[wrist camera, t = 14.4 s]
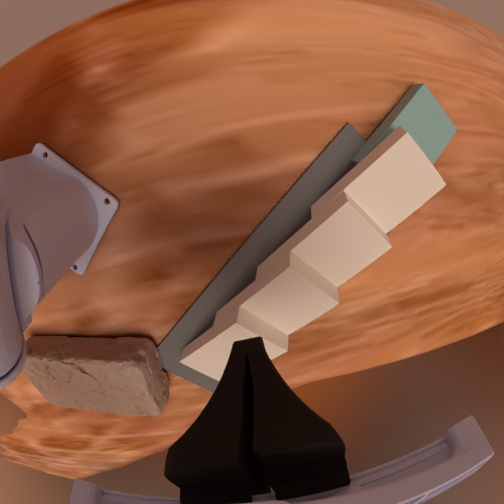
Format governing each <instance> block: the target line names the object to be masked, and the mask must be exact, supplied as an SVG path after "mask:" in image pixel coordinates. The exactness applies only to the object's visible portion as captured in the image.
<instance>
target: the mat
mask: <svg viewBox="0 0 504 504" xmlns="http://www.w3.org/2000/svg"><path fill="white" fill-rule="evenodd" d="M365 142H366V140H365V139H364V138H363V137H362V136H361V135H360V134H359V133H358V132H357V131H356V129H355V128H354V127H353V126H352V125H351V124H350V123H347V124H346V125H345V126H344V127H343V128H342V129H341V130H340V132H339V133H338V134H337V135H336V136H335V137H334V138H333V140H332V141H331V142H330V143H329V144H328V145H327V147H326V148H325V149H324V150H323V151H322V152H321V153H320V155H319V156H318V157H317V158H316V159H315V160H314V162H313V163H312V164H311V165H310V166H309V167H308V168H307V170H306V171H305V172H304V173H303V174H302V175H301V177H300V178H299V179H298V180H297V181H296V182H295V184H294V185H293V186H292V187H291V188H290V189H289V191H288V192H287V193H286V194H285V195H284V196H283V198H282V199H281V200H280V201H279V202H278V203H277V205H276V206H275V207H274V208H273V209H272V210H271V212H270V213H269V214H268V215H267V216H266V217H265V219H264V220H263V221H262V222H261V223H260V224H259V226H258V227H257V228H256V229H255V230H254V232H253V233H252V234H251V235H250V236H249V237H248V239H247V240H246V241H245V242H244V243H243V245H242V246H241V247H240V248H239V249H238V250H237V252H236V253H235V254H234V255H233V256H232V258H231V259H230V260H229V261H228V262H227V264H226V265H225V266H224V267H223V268H222V270H221V271H220V272H219V273H218V274H217V275H216V277H215V278H214V279H213V280H212V281H211V283H210V284H209V285H208V286H207V287H206V289H205V290H204V291H203V292H202V293H201V295H200V296H199V297H198V298H197V299H196V301H195V302H194V303H193V304H192V305H191V307H190V308H189V309H188V310H187V312H186V313H185V314H184V315H183V316H182V318H181V319H180V320H179V321H178V322H177V324H176V325H175V326H174V327H173V328H172V330H171V331H170V332H169V333H168V335H167V336H166V337H165V338H164V339H163V341H162V342H161V343H160V344H159V345H158V347H157V350H158V352H159V357H160V361H161V364H162V368H164V369H166V370H168V371H170V372H172V373H174V374H176V375H178V376H180V377H182V378H184V379H186V380H188V381H190V382H192V383H195V384H197V385H199V386H201V387H203V388H206V389H208V390H210V391H212V392H214V391H215V389H216V387H217V385H218V383H219V381H218V380H216V379H213V378H211V377H209V376H207V375H205V374H203V373H201V372H199V371H196V370H194V369H192V368H190V367H188V366H186V365H184V364H182V363H180V362H179V361H180V358H181V355H182V351H183V348H184V347H186V346H187V345H188V344H190V343H191V342H193V341H194V340H195V339H197V338H198V337H199V336H201V335H202V334H203V333H205V332H206V331H207V330H209V329H210V328H211V327H213V324H214V320H215V316H216V313H217V311H218V310H220V309H221V308H222V307H223V306H224V305H226V304H227V303H228V302H229V301H231V300H232V299H233V298H234V297H236V296H237V295H238V294H239V293H240V292H242V291H243V290H244V289H245V288H247V287H248V286H249V285H250V284H251V283H253V282H254V281H255V280H256V273H257V267H258V266H259V265H260V264H261V263H262V262H263V261H264V260H266V259H267V258H268V257H269V256H270V255H271V254H272V253H274V252H275V251H276V250H277V249H278V248H279V247H280V246H282V245H283V244H284V243H285V242H286V241H287V240H288V239H289V238H291V237H292V236H293V235H294V234H295V233H296V232H297V231H299V230H300V229H301V228H302V227H303V226H304V225H305V224H306V223H308V222H309V221H310V220H311V219H312V218H311V206H312V205H313V204H314V203H315V202H316V201H317V200H318V199H320V198H321V197H322V196H323V195H324V194H325V193H326V192H327V191H328V190H329V189H331V188H332V187H333V186H334V185H335V184H336V183H337V182H338V181H339V180H341V179H342V178H343V177H344V176H345V175H346V174H347V173H348V172H349V171H350V170H352V169H353V168H354V167H355V166H356V165H355V164H354V163H353V162H352V161H351V159H352V158H353V157H354V156H355V154H356V153H357V152H358V151H359V150H360V148H361V147H362V146H363V145H364V144H365ZM390 231H391V230H390ZM390 231H389V232H390ZM389 232H388V233H389ZM388 233H386V234H388ZM337 288H338V287H337ZM289 335H290V334H289ZM289 335H288V336H289Z"/></svg>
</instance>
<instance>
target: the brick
mask: <svg viewBox="0 0 504 504" xmlns="http://www.w3.org/2000/svg"><path fill="white" fill-rule="evenodd" d="M26 347H27V355H26V361H25V364H24V366H23V369H22V371H23V372H24V373H25V374H26V376H27V377H28V378H29V380H30V381H31V382H32V384H33V385H34V386H35V387H36V388H37V389H38V390H39V391H40V393H41V394H42V395H44V397H45V398H46V399H47V401H48V402H49V403H50V404H54V405H57V406H61V407H67V408H76V409H77V408H80V409H86V408H89V409H91V410H97V411H102V412H108V413H114V414H121V415H129V416H135V415H139V416H148V415H150V416H160V415H161V414H162V410H163V409H164V408H165V407H166V405H167V403H168V397H169V394H170V393H169V382H168V377H167V375H166V373H165V372H164V371H163V369H162V364H161V361H160V357H159V352H158V350H157V348H156V346H155V345H154V343H153V342H152V341H151V340H150V339H148V338H134V337H119V338H116V339H112V338H101V337H98V338H94V337H93V338H85V337H71V338H69V337H67V336H33V337H31V338H29V339H28V340H27V341H26Z"/></svg>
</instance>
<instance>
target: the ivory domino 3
mask: <svg viewBox="0 0 504 504" xmlns="http://www.w3.org/2000/svg"><path fill="white" fill-rule="evenodd" d="M338 304H339V296H338V288H337V287H336V286H334V285H333V284H332V283H331V282H329V281H328V280H327V279H325V278H324V277H323V276H322V275H320V274H319V273H318V272H316V271H315V270H314V269H312V268H311V267H310V266H309V265H307V264H306V263H305V262H303V261H302V260H301V259H299V258H298V257H297V256H296V255H294V254H293V253H292V252H289V253H287V254H286V255H285V256H284V257H283V258H282V259H280V260H279V261H278V262H277V263H276V264H274V265H273V266H272V267H271V268H270V269H268V270H267V271H266V272H265V273H264V274H262V275H261V276H260V277H259V278H257V279H256V280H255V281H254V282H253V283H251V284H250V285H249V286H248V287H247V288H245V289H244V290H243V291H242V292H240V293H239V294H238V295H237V296H236V297H234V298H233V299H232V300H231V301H229V302H228V303H227V304H226V305H224V306H223V307H222V308H221V309H220V310H218V311H217V313H216V316H215V320H214V324H213V326H214V325H215V324H217V323H218V322H219V321H220V320H222V319H223V318H224V317H226V316H227V315H228V314H230V313H231V312H232V311H234V310H235V309H236V308H237V307H239V306H240V307H242V308H244V309H245V310H247V311H249V312H250V313H252V314H254V315H255V316H257V317H259V318H260V319H262V320H264V321H265V322H267V323H269V324H270V325H272V326H274V327H276V328H277V329H279V330H281V331H282V332H284V333H286V334H288V335H289V334H291V333H293V332H294V331H296V330H298V329H299V328H301V327H303V326H304V325H306V324H308V323H309V322H311V321H313V320H314V319H316V318H317V317H319V316H321V315H322V314H324V313H325V312H327V311H328V310H330V309H332V308H333V307H335V306H336V305H338Z"/></svg>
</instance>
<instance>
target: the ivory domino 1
mask: <svg viewBox="0 0 504 504" xmlns="http://www.w3.org/2000/svg"><path fill="white" fill-rule="evenodd" d="M445 185H446V184H445V182H444V181H443V179H442V178H441V176H440V175H439V173H438V172H437V170H436V169H435V168H434V166H433V165H432V163H431V162H430V161H429V159H428V158H427V157H426V155H425V154H424V153H423V151H422V150H421V149H420V147H419V146H418V145H417V143H416V142H415V141H414V140H413V138H412V137H411V136H410V135H409V133H408V132H407V131H405V130H404V129H403V128H402V127H401V126H399V127H398V128H397V129H395V130H394V131H393V132H392V133H391V134H390V135H389V136H388V137H387V138H386V139H384V140H383V141H382V142H381V143H380V144H379V145H378V146H377V147H376V148H375V149H374V150H372V151H371V152H370V153H369V154H368V155H367V156H366V157H365V158H364V159H363V160H361V161H360V162H359V163H358V164H357V165H356V166H355V167H354V168H353V169H352V170H350V171H349V172H348V173H347V174H346V175H345V176H344V177H343V178H342V179H341V180H339V181H338V182H337V183H336V184H335V185H334V186H333V187H332V188H331V189H329V190H328V191H327V192H326V193H325V194H324V195H323V196H322V197H321V198H320V199H318V200H317V201H316V202H315V203H314V204H313V205H312V206H311V218H313V217H314V216H315V215H317V214H318V213H319V212H320V211H321V210H322V209H323V208H324V207H325V206H327V205H328V204H329V203H330V202H331V201H332V200H333V199H334V198H336V197H337V196H338V195H339V194H340V193H341V192H342V191H343V190H344V191H345V192H346V193H347V194H348V195H349V196H350V197H351V198H352V199H353V200H354V201H355V202H356V203H357V204H358V205H359V206H360V207H361V208H362V209H363V210H364V211H365V212H366V213H367V214H368V215H369V216H370V217H371V218H372V219H373V220H374V221H375V222H376V223H377V224H378V226H379V227H380V228H381V229H382V230H383V231H384V232H385V233H388V232H389V231H390V230H392V229H393V228H394V227H395V226H397V225H398V224H399V223H400V222H402V221H403V220H404V219H405V218H407V217H408V216H409V215H410V214H412V213H413V212H414V211H415V210H417V209H418V208H419V207H420V206H422V205H423V204H424V203H425V202H426V201H428V200H429V199H430V198H431V197H432V196H434V195H435V194H436V193H437V192H438V191H439V190H441V189H442V188H443V187H444V186H445Z"/></svg>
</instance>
